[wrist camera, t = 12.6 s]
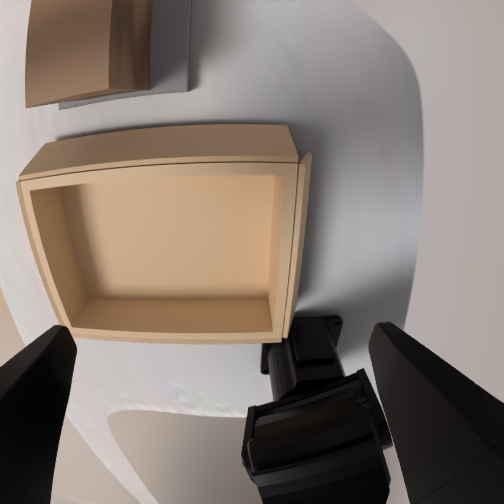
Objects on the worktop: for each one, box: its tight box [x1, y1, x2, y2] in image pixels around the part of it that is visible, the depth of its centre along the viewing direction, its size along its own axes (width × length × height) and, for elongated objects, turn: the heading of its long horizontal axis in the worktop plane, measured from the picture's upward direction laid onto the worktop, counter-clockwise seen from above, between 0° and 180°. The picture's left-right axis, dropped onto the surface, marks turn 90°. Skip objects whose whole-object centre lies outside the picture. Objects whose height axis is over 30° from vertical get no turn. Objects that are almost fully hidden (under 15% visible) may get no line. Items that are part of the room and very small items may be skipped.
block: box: [25, 0, 153, 108], centre depth 9 cm, size 8×4×6 cm, turn 178°
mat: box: [59, 0, 191, 110], centre depth 12 cm, size 8×8×1 cm
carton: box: [16, 124, 312, 344], centre depth 17 cm, size 14×18×4 cm
